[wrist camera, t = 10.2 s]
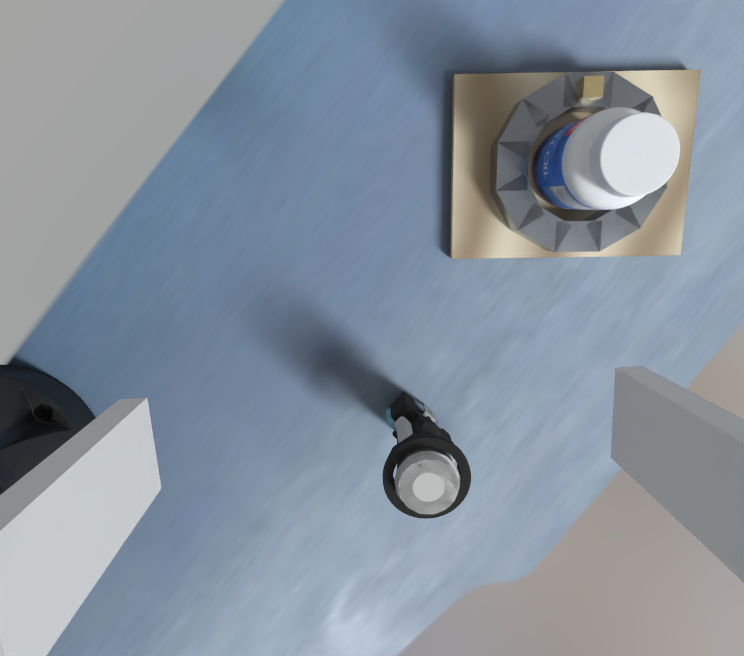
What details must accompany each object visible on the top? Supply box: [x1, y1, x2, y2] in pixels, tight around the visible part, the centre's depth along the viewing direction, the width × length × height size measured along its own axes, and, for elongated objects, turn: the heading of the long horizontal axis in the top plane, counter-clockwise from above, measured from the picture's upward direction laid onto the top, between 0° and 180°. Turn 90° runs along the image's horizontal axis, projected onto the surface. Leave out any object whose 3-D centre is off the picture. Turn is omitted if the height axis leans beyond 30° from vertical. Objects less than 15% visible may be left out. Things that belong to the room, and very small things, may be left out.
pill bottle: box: [532, 107, 680, 210], centre depth 30 cm, size 6×5×10 cm
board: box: [450, 70, 701, 259], centre depth 36 cm, size 16×12×1 cm
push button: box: [383, 392, 471, 518], centre depth 35 cm, size 7×5×10 cm
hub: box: [489, 72, 668, 252], centre depth 34 cm, size 11×11×3 cm
